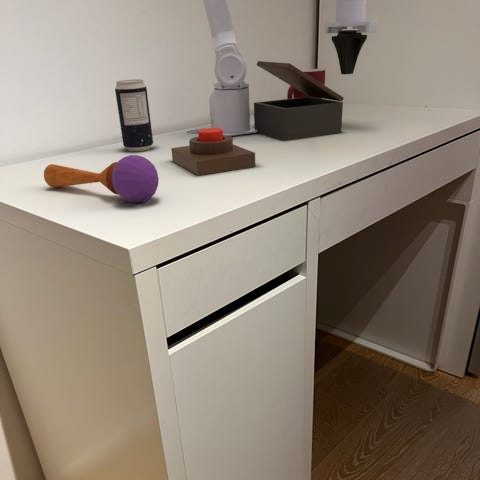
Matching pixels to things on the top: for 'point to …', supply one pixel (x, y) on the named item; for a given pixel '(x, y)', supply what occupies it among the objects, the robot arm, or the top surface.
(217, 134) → the button
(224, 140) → the panel
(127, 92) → the beverage can
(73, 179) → the purple maraca
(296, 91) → the mug
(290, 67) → the brown box lid
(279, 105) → the dark gray box
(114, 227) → the top surface
